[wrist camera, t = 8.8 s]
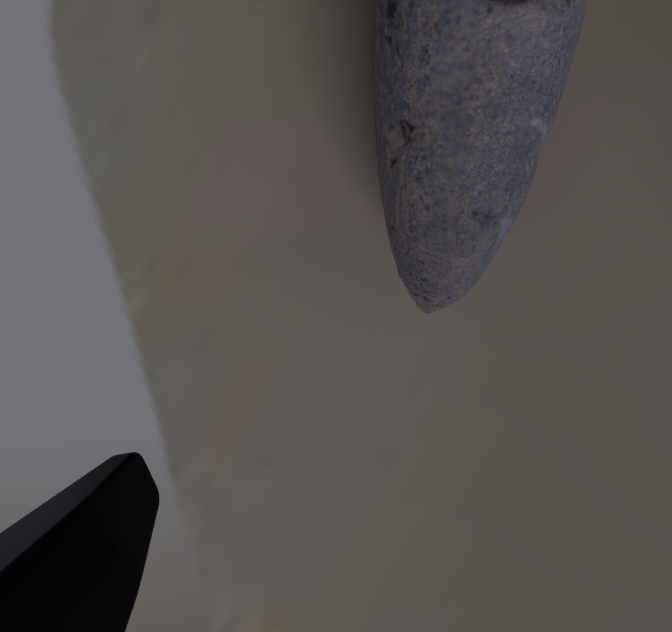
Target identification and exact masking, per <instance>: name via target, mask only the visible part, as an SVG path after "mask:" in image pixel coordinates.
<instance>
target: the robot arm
mask: <svg viewBox="0 0 672 632" xmlns="http://www.w3.org/2000/svg"><path fill="white" fill-rule="evenodd" d="M158 506H159V492H158V489H157V486H156V484H155V482H154V480H153V478H152V476H151V473H150V471H149V469H148V467H147V465H146V463H145V461H144V459H143V457H142V456H141V455H140V454H139V453H136V452H131V453H125V454H119V455H115V456H112V457H111V458H109V459H108V460H106V461H105V462H103V463H102V464H100V465H99V466H97V467H96V468H94V469H93V470H92V471H90V472H89V473H87V474H86V475H84V476H83V477H81V478H80V479H78V480H77V481H76V482H74V483H73V484H71V485H70V486H68V487H67V488H65V489H64V490H62V491H61V492H60V493H58V494H57V495H55V496H54V497H52V498H51V499H49V500H48V501H46V502H45V503H43V504H42V505H41V506H39V507H38V508H36V509H35V510H33V511H32V512H30V513H29V514H28V515H26V516H25V517H23V518H22V519H20V520H19V521H17V522H16V523H14V524H13V525H11V526H10V527H9V528H7V529H6V530H4V531H3V532H2V533H0V632H125V630H126V627H127V624H128V621H129V618H130V615H131V612H132V609H133V606H134V603H135V600H136V597H137V594H138V590H139V586H140V582H141V579H142V575H143V571H144V566H145V562H146V558H147V554H148V549H149V545H150V541H151V537H152V532H153V528H154V524H155V519H156V515H157V511H158Z"/></svg>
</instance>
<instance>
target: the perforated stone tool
mask: <svg viewBox="0 0 672 632" xmlns="http://www.w3.org/2000/svg"><path fill="white" fill-rule="evenodd" d="M585 4H586V0H376V11H375V38H374V112H375V127H376V142H377V156H378V166H379V176H380V184H381V194H382V200H383V206H384V212H385V220H386V225H387V230H388V235H389V239H390V245H391V249H392V253H393V256H394V259H395V262H396V265H397V269H398V274H399V276H400V277H401V279H402V281H403V282H404V284H405V287H406V288H407V290H408V292H409V294H410V295H411V297H412V299H413V301H416V304H417V307H419V308H420V309H421V310H422V311H423V312H424V313H428V314H429V313H431V312H432V311H437V310H438V309H441V308H443V307H447V306H449V305H450V304H452V303H454V302H455V301H457V300H459V299H461V298H462V297H463V296H464V295H465V294H466V293H467V292H468V291H469V290H470V289H471V288H472V287H473V286H474V284H475V283H476V282H477V280H478V279H479V278H480V276H481V275H482V273H483V272H484V270H485V268H486V267H487V265H488V264H489V262H490V261H491V259H492V257H493V255H494V254H495V252H496V251H497V250H498V248H499V246H500V244H501V241H502V238H503V236H504V235H506V234H507V232H508V231H509V229H510V227H511V226H512V224H513V222H514V220H515V219H516V216H517V214H518V213H519V211H520V209H521V207H522V204H523V202H524V199H525V197H526V195H527V192H528V190H529V187H530V185H531V182H532V179H533V176H534V173H535V169H536V165H537V158H538V156H539V154H540V151H541V149H542V146H543V143H544V141H545V139H546V137H547V135H548V132H549V130H550V127H551V125H552V122H553V119H554V117H555V114H556V111H557V107H558V104H559V101H560V98H561V95H562V92H563V88H564V85H565V82H566V79H567V75H568V72H569V69H570V66H571V62H572V58H573V55H574V52H575V48H576V45H577V41H578V37H579V33H580V30H581V26H582V22H583V18H584V11H585Z"/></svg>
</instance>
